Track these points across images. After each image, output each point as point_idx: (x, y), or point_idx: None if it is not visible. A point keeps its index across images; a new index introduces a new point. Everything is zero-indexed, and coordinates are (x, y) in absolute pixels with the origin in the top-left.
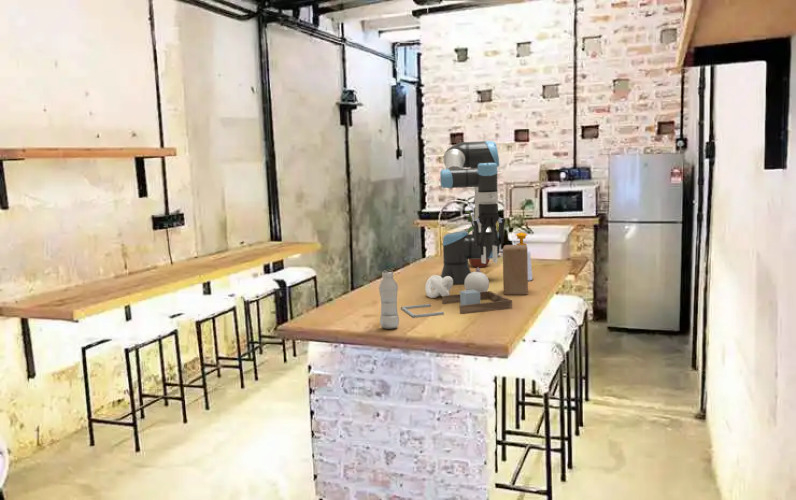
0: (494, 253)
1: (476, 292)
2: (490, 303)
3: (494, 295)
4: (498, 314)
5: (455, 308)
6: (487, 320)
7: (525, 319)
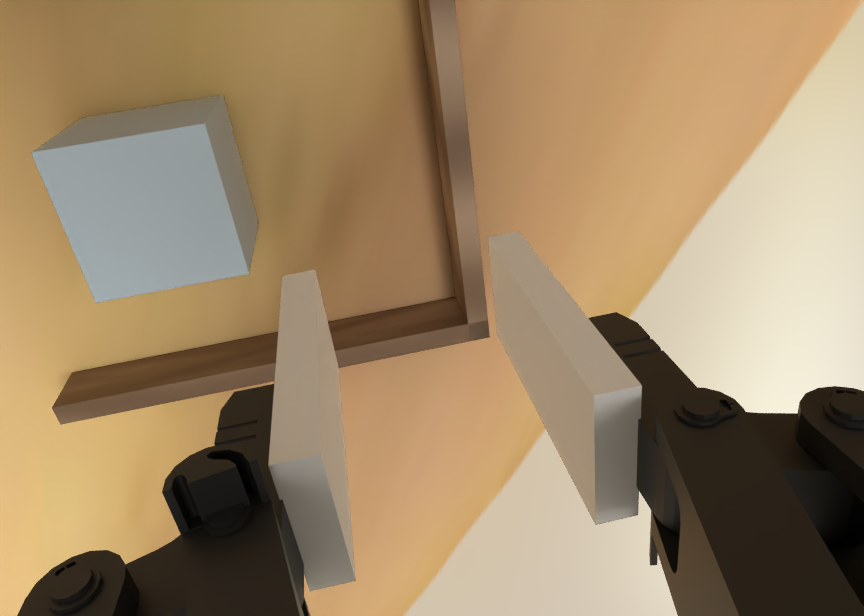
0: (538, 378)
1: (211, 275)
2: None
3: (433, 50)
4: None
5: (33, 213)
6: None
7: (451, 549)
